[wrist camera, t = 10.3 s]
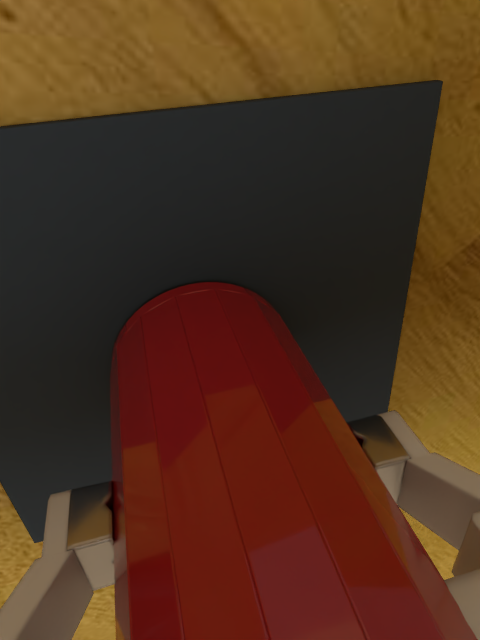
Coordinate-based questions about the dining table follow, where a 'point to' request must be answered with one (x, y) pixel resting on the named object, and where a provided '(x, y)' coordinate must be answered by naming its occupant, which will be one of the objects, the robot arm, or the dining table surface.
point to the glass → (251, 490)
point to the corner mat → (199, 252)
